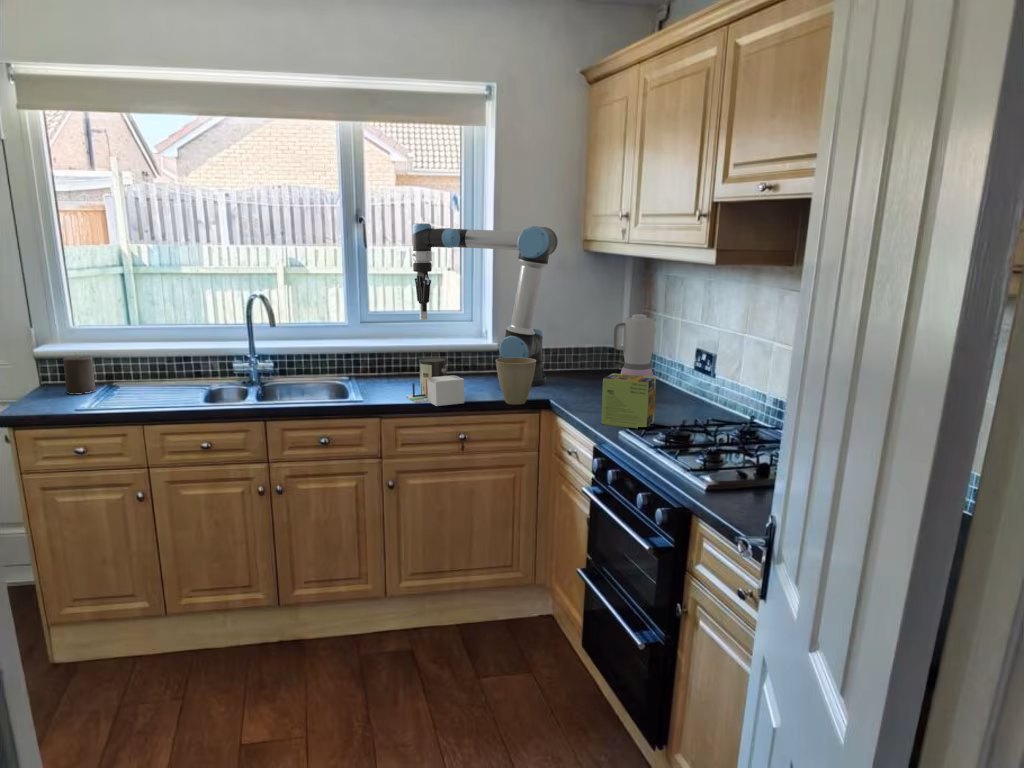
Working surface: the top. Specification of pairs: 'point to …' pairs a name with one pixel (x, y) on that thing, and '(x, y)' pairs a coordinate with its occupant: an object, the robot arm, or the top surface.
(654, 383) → the protein box
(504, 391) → the plant pot
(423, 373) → the coffee can
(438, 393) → the gauge frame
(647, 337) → the blender
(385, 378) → the top surface
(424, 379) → the gauge plunger
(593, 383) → the top surface
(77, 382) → the pillar candle
